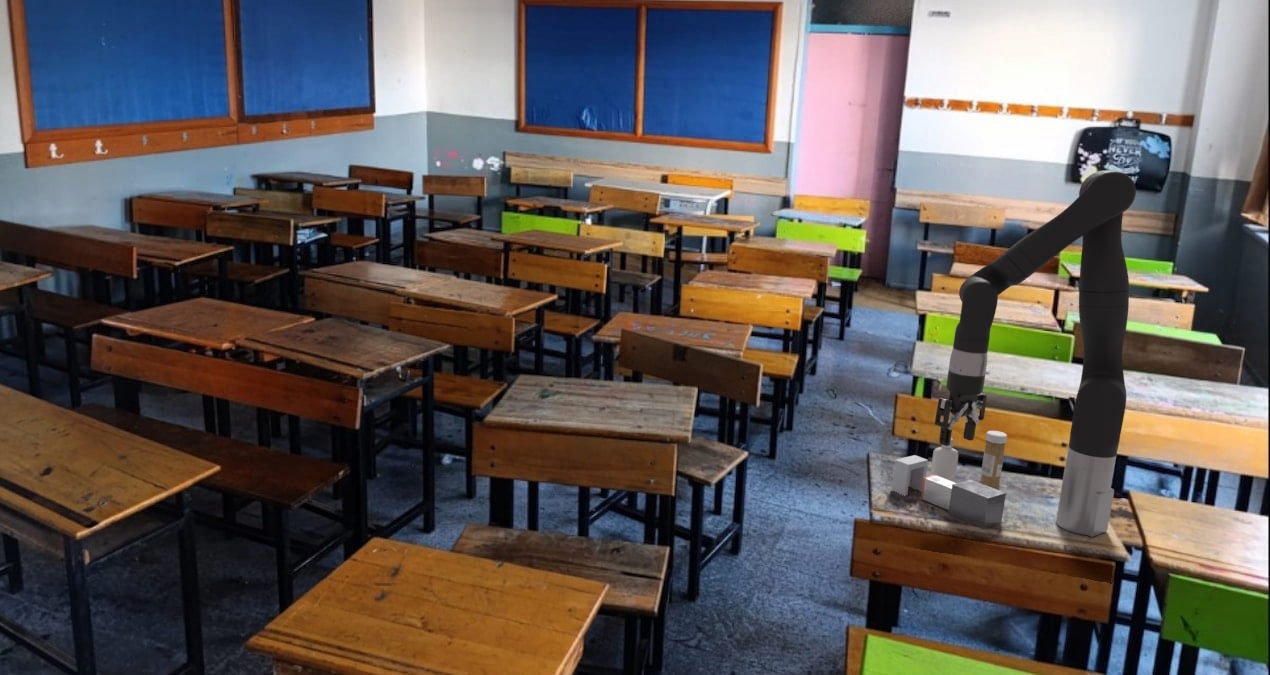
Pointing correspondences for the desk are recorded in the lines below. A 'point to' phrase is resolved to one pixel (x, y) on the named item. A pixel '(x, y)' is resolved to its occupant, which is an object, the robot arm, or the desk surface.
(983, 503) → the sleeve
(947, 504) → the grey square post
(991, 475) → the sprinkles bottle
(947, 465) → the eye dropper bottle
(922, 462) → the socket block
